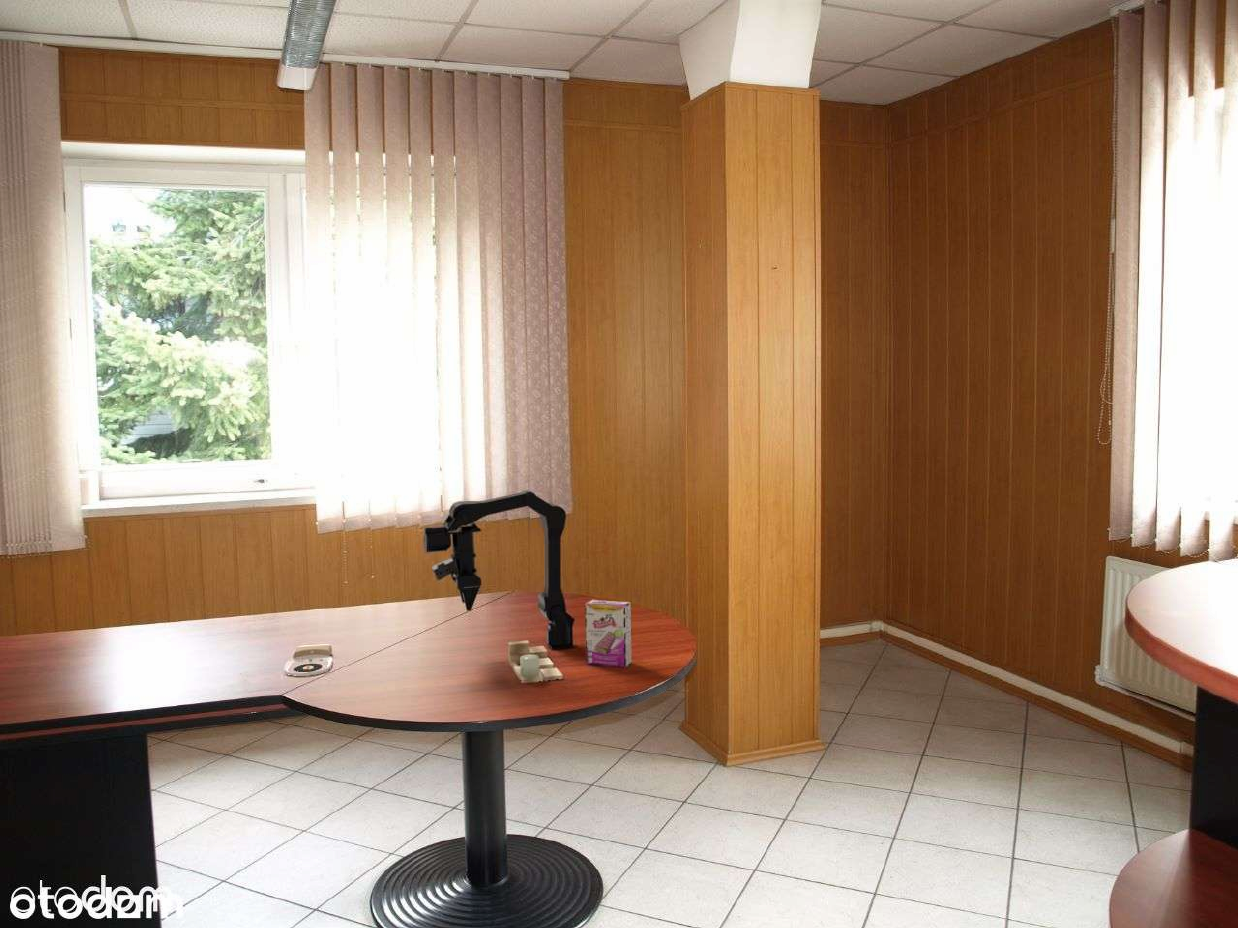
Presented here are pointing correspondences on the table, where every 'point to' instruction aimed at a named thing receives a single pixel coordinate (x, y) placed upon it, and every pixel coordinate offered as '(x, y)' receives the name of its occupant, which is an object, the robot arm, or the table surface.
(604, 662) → the candy bar box
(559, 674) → the broken strip
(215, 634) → the table surface
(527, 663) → the mint rounded cylinder
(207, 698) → the table surface
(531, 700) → the table surface
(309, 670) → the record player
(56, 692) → the table surface
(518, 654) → the beige long blocky piece
